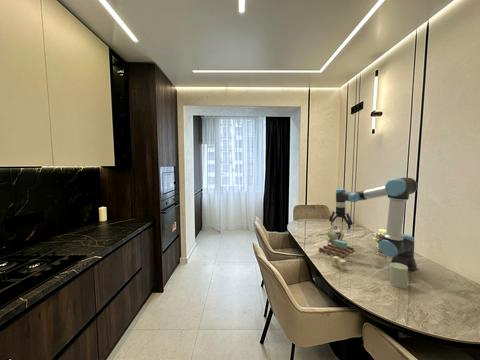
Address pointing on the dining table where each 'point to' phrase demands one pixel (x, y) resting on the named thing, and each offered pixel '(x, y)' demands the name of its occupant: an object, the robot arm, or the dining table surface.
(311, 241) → the dining table surface
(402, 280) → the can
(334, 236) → the sugar bowl
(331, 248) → the slot rack
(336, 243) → the teal bar
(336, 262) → the maple bar
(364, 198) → the robot arm
